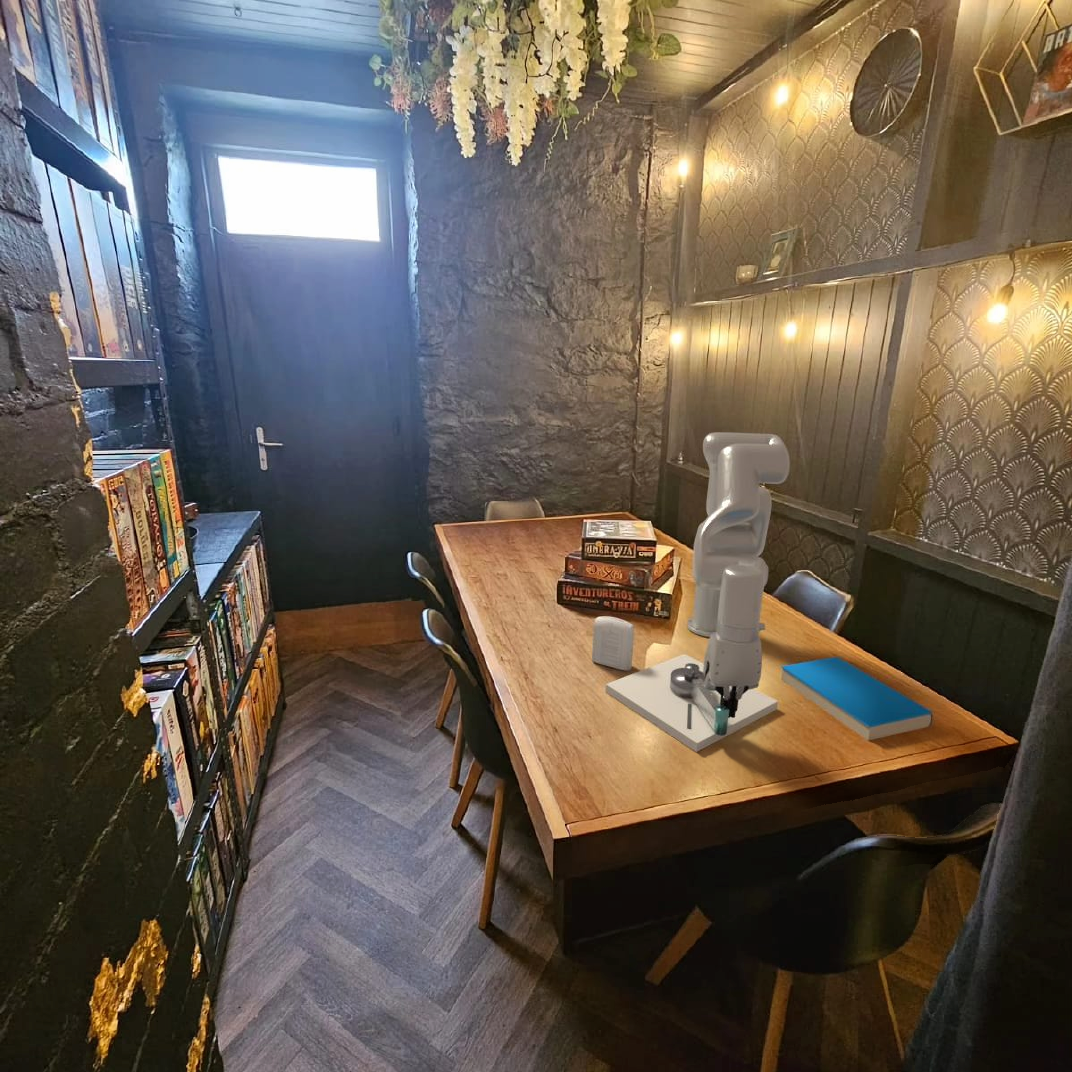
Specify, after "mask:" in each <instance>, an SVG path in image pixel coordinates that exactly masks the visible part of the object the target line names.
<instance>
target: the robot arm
mask: <svg viewBox="0 0 1072 1072" xmlns="http://www.w3.org/2000/svg"><path fill="white" fill-rule="evenodd" d="M702 451H703V455H704V458H705V461H706V462H707V465H708V469H709V476H708V486H707V495H706V504H705V505H706V506H705V507H706V514H707V517H706V519H705V520H703V522H701V523H700V524H699V526H698V528H697V531H696V534H695V538H694V543H693V557H692V577H693V581H694V584H695V592H694V601H693V602H694V605H693V614H692V617H691V618H689V619H687V622H686V627H687V629H688V630H689V631H691V632H692V633H694V634H695V635H698V636H701V637H706V638H709V639H708V642H707V647H706V651H705V656H704V660H703V661H704V662H703V664H704V666H703V674H704V676H706V679H705V681H704V684H703V685H704V687H705V688H706V689H707V690H712V691H717V692H718V693H719V694H720V695H721V699H720V705H721V706H725V707H727V708H728V709H729V716H728V718H730V717H732V718H735V713H736V711H737V709H738V700H740V699H741V698H742V695H743V694H744V693H745V692H746V691H747V690H748V689H749V690H750V689H757V688H758V687H759V683H760V681H761V677H762V670H763V669H762V668H763V667H762V666H763V649H762V643H761V642H762V641H761V637H760V636H759V635H760V632H761V631H764V630H765V629H766V625H765V622H761V611H762V603H763V597H764V596H763V595H764V590H765V589H764V588H765V586H766V585H767V583H768V579H769V566H768V565H767V564H766V562H765V559H764V558H762V557H760V556H761V554H762V553H763V552H764V549H765V546H766V539H767V535H768V529H769V524H770V518H771V514H772V495H771V493H770V491H769V490H768V489H767V488H765V487H762V486H760V484H767V485H768V484H769V485H770V484H773V485H774V484H775V485H778V484H779V485H780V484H782V483H784V482H785V481H786V480H787V477H788V476H789V474H790V473H789V472H790V465H791V464H790V454H789V450H788V449H787V446H786V444H785V443H784V442H783V440H782V439H781V437H780V436H779V435H777V434H774V433H753V432H752V433H750V432H749V433H747V432H729V431H728V432H724V431H723V432H721V431H720V432H717V431H716V432H710V433H709V434H707V435H706V436H705V437H704V438H703V443H702ZM729 686H731V689H730V688H729Z"/></svg>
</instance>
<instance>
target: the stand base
mask: <svg viewBox="0 0 1072 1072" xmlns="http://www.w3.org/2000/svg"><path fill="white" fill-rule="evenodd" d="M688 663H693V664H696V665H698V666H699V671H701V672H703V666H704V662H701V661H699V660H698V659H695V658H693V657H692V656H690V655H687V654H685V653H683V654H681V655H678V656H675V657H673V658H670V659H668V660H666V661H663V662H660V663H657V664H655V665H652V666H648V668H644V669H642V670H639V671H637V672H633V673H632V674H628V675H626V676H624V677H621V678H619V679H616V680H614V681H613V680H612V681H611V682H608V683H606V684H605V693H606V694H608V695H609V696H611V697H613V698H614V699H615V700H617V701H618V702H620V703H621V704H623V705H624V706H626V707H628V708H629V709H630V710H632V711H634V712H635V713H636V712H637V714H638V715H639V716H641V717H642V718H644V719H646V720H647V721H649V722H650V723H652V724H653V725H655V726H656V727H658V728H659V729H660V730H662V731H664V732H665V733H667V735H669V736H671V737H673V738H674V739H676V740H677V741H679V742H680V743H682V744H683V745H685V746H686V747H688V748H689V749H691V750H692V751H694V752H695V753H698V752H700V751H701V750H703V749H705V748H707V747H709V746H710V745H713V744H714V743H716V742H719V741H720V740H722V739H724V738H725V737H728V736H730V735H731V734H733V733H735V732H738V731H739V730H741V729H742V728H744V727H746V726H748V725H751V724H752V723H754V722H756V721H758V720H759V719H762V718H763V717H765V716H767V715H769V714H771V713H773V712H774V711H776V710H778V704H779V700H777V699H775V698H774V697H770V696H769V695H766V694H764V693H762V692H760V691H759V690H757V689H756V688H754V689H750V690H749V689H748V690H747V691H746V692H745V693H744V694H743V695H742V698H741V699H740V700H738V709H737V711H736V713H735V718H732V717H730V718H728V725H727V734H726V735H724V736H720V735H717V734H715V733H714V730H713V728H712V727H711V725H710V724H709V722H708V721H707V719H706V718H705V716H704V715H703V713H702V712H701V710H700V709H699V707H698V706H697V704H696V703H695V701H694V700H693V699H690V698H684V697H681V696H678V695H676V694H675V693H673V692H672V691H671V689H670V679H671V672H672V671H673V670H675V669H678V668H685V665H686V664H688ZM729 688H730V689H731V686H729ZM710 691H711V692H712V694H713V695H714V696H715V698H716V699H717V701H718V702H719V703H720V699H721V695H720V694H719V693H718V692H717V691H712V690H710Z"/></svg>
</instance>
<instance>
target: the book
mask: <svg viewBox="0 0 1072 1072" xmlns="http://www.w3.org/2000/svg"><path fill="white" fill-rule="evenodd" d="M781 669H782V671H781V679H780V680H781V681H783V682H784V683H786V684H787V685H788V686H790V687H791V688H793V689H794V690H795V691H797V692H798V693H800V694H801V695H803V696H804V697H806V698H807V699H808V700H809V701H811V702H813V703H814V704H816V705H817V706H818V707H820V708H821V709H822V710H823V711H826V712H827V713H829V715H831V716H832V717H833V718H835V719H837V720H838V721H839V722H841V723H842V724H844V725H845V726H846V727H848V728H849V729H851V730H852V731H854V732H855V733H857V734H858V735H859V736H860V737H862V738H863V739H865V740H866V741H872V740H876V739H880V738H886V737H889V736H892V735H893V736H894V735H898V734H902V733H906V732H911V731H915V730H920V729H925V728H928V727H930V726H931V724H932V722H933V711H931V710H930V709H928V708H926V707H925V706H923V705H922V704H919V703H917V702H916V701H914V700H913V699H911V698H909V697H908V696H905V695H904V694H902V693H900V692H899V691H897V690H895V689H894V688H891V687H890V686H888V685H886V684H885V683H883V682H881V681H880V680H878V679H876V678H874V677H873V676H871V675H869V674H868V673H866V672H864V671H863V670H861V669H859V668H857V667H855V666H854V665H852V664H851V663H849V662H848V661H845V660H843V659H842V658H840V657H838V656H835V657H829V658H823V659H817V660H811V661H805V662H800V663H799V662H798V663H793V664H787V665H783V666H781Z"/></svg>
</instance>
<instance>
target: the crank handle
mask: <svg viewBox="0 0 1072 1072" xmlns="http://www.w3.org/2000/svg"><path fill="white" fill-rule="evenodd" d="M705 679H706V676H704V674H703V672H701V671H699V666H698V665H696V664H693V663H688V664H686V665H685V668H678V669H675V670H673V671H672V672H671V679H670V689H671V691H672V692H673V693H675V694H676V695H678V696H681V697H684V698H690V699H693V700H694V701H695V703H696V704H697V706H698V707H699V709H700V710H701V712H702V713H703V715H704V716H705V718H706V719H707V721H708V722H709V724H710V725H711V727H712V728H713V730H714V733H715V734H717V735H720V736H724V735H726V734H727V725H728V716H729V709H728V708H727V707H725V706H721V705H720V703H719V702H718V701H717V699H716V698H715V696H714V695H713V694H712V692H711V691H710V690H707V689H706V688H705V687H704V685H703V684H704V681H705Z"/></svg>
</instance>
